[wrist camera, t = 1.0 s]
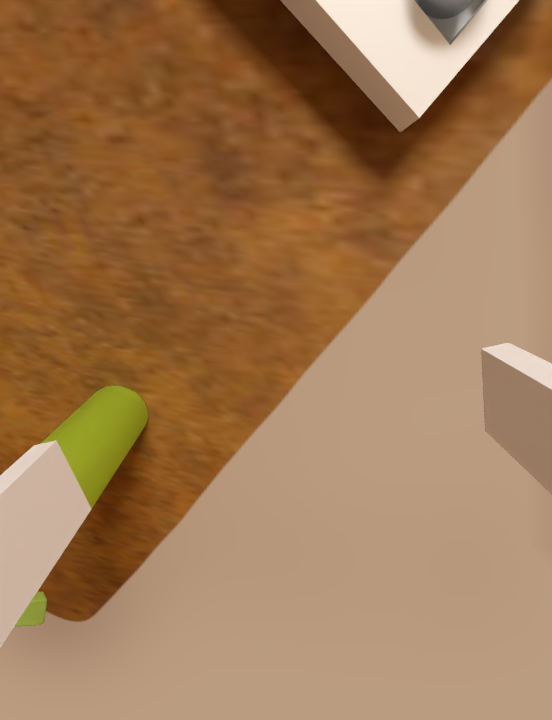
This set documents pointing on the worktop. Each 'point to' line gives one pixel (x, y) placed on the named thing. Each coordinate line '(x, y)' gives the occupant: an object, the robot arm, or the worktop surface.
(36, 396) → the worktop surface
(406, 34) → the button panel
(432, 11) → the blue button
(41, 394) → the worktop surface
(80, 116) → the worktop surface
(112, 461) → the soap dispenser
